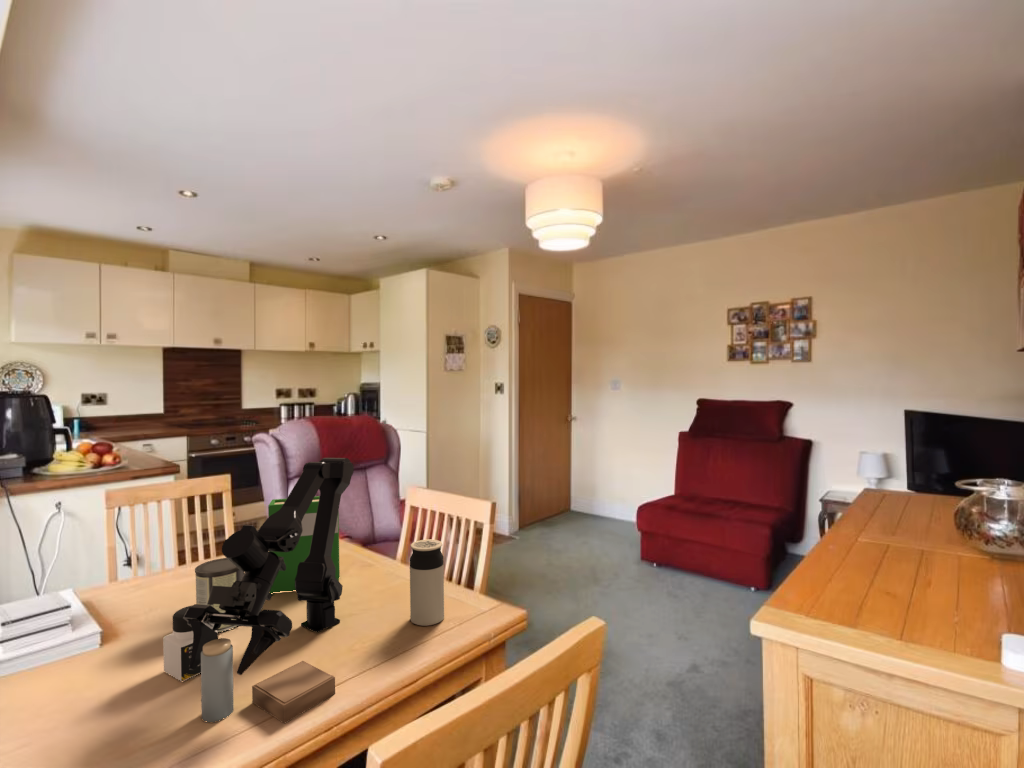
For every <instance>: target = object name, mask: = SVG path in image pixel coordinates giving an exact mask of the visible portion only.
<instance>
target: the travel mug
mask: <svg viewBox="0 0 1024 768" xmlns="http://www.w3.org/2000/svg"><path fill="white" fill-rule="evenodd" d="M442 546H443V542H442V541H440V540H438V539H430V538H429V539H428V538H427V539H421V540H416V541H414V542H412V543H410V548H411V552H412V553H411V555H410V557H409V588H410V589H409V596H410V597H409V602H410V603H409V605H410V616H409V617H410V622H411V623H412V624H413V625H414V624H415V625H416V626H423V627H427V626H433V625H437V624H438V623H441V622H442V621H443V620H444V619H445V576H444V574H445V572H444V570H445V567H444V565H445V563H444V559H445V558H444V554H443V553H442Z"/></svg>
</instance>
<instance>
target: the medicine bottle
mask: <svg viewBox="0 0 1024 768" xmlns="http://www.w3.org/2000/svg"><path fill="white" fill-rule="evenodd" d="M191 606H192V605H188V606H184V607H182V608H180V609H179V610H177V611H175V612H174V614H173V615H172V633H170V634H167V635H164V637H163V638H162V642H163V643H162V644H163V645H162V648H163V672H164V671H165V672H166V674H167V673H168V674H167V675H169V674H170V675H171V677H172V676H173V678H174V677H175V678H174V679H176V680H177V679H178V680H177V681H179V680H180V681H179V682H181V681H184V682H186V681H188V680H190V679H192V678H194V677H196V675H197V676H199V675H201V674H200V673H201V662H200V663H199V664H198V666H197V667H196V668H195V670H191V669H190V668H189V665H190V659H191V653H192V646H193V630H192V627H190V626H189V625H188V621H186V620H185V619H183V617H184V615H185V614H186V612H187V610H188V608H189V607H191ZM215 632H216V633H218V631H217V630H215ZM215 639H219V633H218V635H217V636H216V638H215ZM165 672H164V673H165ZM198 674H199V675H198ZM170 675H169V676H170ZM193 676H194V677H193ZM191 677H192V678H191ZM189 678H190V679H189ZM187 679H188V680H187ZM185 680H186V681H185Z"/></svg>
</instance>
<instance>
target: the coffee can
mask: <svg viewBox="0 0 1024 768" xmlns="http://www.w3.org/2000/svg"><path fill="white" fill-rule="evenodd" d="M194 573H195V597H196V598H195V603H196V604H199V605H207V603H208V600H209V596H210V593H211V589H212V586H226V587H232V585H233V583H234V582H235V581H241V579H242V577H243V575H244V573H245V572H243V571H241V570H239V569H238V568H237V567H236V566H235V565H234V564H233V563H232V562H231V561H230V560H228V559H227V558H226V557H223V558H216V559H213V560H210V561H205V562H203V563H200V564H199V565H197V566H196V567H195V568H194ZM211 606H212V607H213V608H215V609H216V610H217V611H219V612H220V613H225V610H222V609H220V608H219V606H220V604H213V605H211ZM231 620H234V619H231ZM235 620H236V619H235ZM234 627H236V626H235V625H223V624H222V625H221V627H220V628H218V629H217V631H218V632H222V631H226V630H229V629H232V628H234ZM236 628H237V627H236ZM234 629H235V628H234ZM232 630H233V629H232ZM229 631H230V630H229ZM226 632H227V631H226ZM222 633H223V632H222Z"/></svg>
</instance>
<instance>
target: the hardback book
mask: <svg viewBox="0 0 1024 768" xmlns="http://www.w3.org/2000/svg"><path fill="white" fill-rule="evenodd" d="M319 497H320V495H318V496H316V495H315V497H314V499H313V501H312V502H311V504H310V506H309V508H308V510H307V511H306V513H305V515H304V517H303V519H302V529H303V531H302V534H301V536H300V539H299V542H298V544H297V546H296V547H295V549H294V550H293V551H290V552H273V553H275V554H276V555H277V556H278V557H284V562H285V564H286V570H285V571H279V572H278V574H277V576H276V578H275V581H274V583H273V585H272V587H271V590H270V592H269V593H273V592H280V591H293V590H296V589H295V578H296V575H297V568H298V565H299V563H300V562H304V561H305V559H306V558H307V557H308V556H309V553H310V547H311V541H312V536H313V530H314V525H315V519H316V514H317V508H318V503H319ZM286 499H287V498H278V499H275V498H274V499H271V501H270V502H269V504H268V505H267V507H268V513H267V514H268V517H269V516H271V515H272V514H274V513H275V512H277V511H279V510H280V509H281V507H282V506H283V504H284V502H285V501H286ZM339 516H340V513H339V511H338V517H337V523H336V529H335V535H334V541H333V547H332V553H331V558H332V560H333V563H334V565H335V568H336V574H335V578H336V579H337V580H338V581H339V582H340V578H339V577H341V575H340V574H341V573H340V571H341V570H340V519H339V518H340V517H339ZM268 517H267V518H268ZM269 552H272V551H269Z"/></svg>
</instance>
